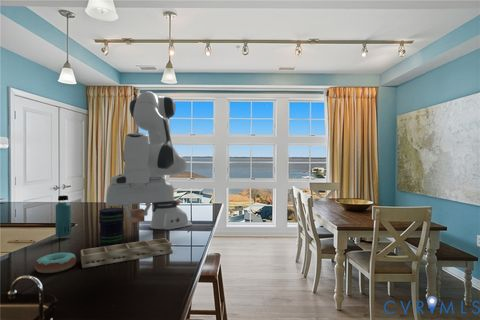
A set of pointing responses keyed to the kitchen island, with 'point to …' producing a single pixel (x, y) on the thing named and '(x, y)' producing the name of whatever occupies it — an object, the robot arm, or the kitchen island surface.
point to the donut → (55, 262)
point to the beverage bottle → (63, 217)
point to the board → (124, 252)
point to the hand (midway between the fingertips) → (137, 216)
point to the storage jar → (111, 226)
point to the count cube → (137, 215)
